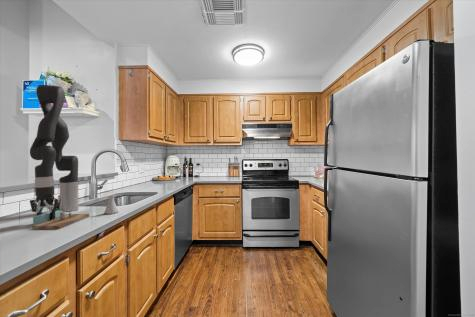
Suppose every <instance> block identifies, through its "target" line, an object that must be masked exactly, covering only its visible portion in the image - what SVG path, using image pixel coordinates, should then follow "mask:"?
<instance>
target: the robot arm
mask: <svg viewBox="0 0 475 317" xmlns="http://www.w3.org/2000/svg"><path fill="white" fill-rule="evenodd" d="M35 93H36V97H37V100H38V104H39V105H40V106H39V107H40V108H41V111H42V114H43V118H42V119H41V120H40V121H39V123H38V126H37V132H36V137H35V139H34V140H33V142H32V144H31V146H30V148H29V154H30V155H29V156H30V157H31V159H33V160H34V161H41V164H38V165H36V166H35V167H34V194H35V197H36V198H35V199H30V200H29V204H30V207H31V212H32V213H36V216H38V215H42V214H44V213H43V210H44V208H45V207H46V209H47V210H48V212H50V220H53V219H55V211H63V212H66V213H67V212H68V213H69V212H74V211H78V210H79V183H78V182H79V158H78V156H77V155H64V154H63V149H64V147H65V146H66V143H67V142H68V140H69V137H70V134H69V133H70V132H69V129H68V128H69V127H68V125H67V123H66V122H65V121H64V120H63V118H61V117H60V115H61V112H62V109H63V106H64V102H65V99H66V92H65V90H64V88H63V87H62V86H59V85H58V86H57V85H51V84H50V85H49V84H39V85H37V87H36V92H35ZM47 144H51V145H47ZM54 165H55V168H56V169H57V170H58V171H59V172H69V173H68V174H67V175H65V176H62V177H60V178H59V181H58V182H59V195H58V196H57V198H56V197H55V196H54V195H55V179H54Z"/></svg>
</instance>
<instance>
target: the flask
mask: <svg viewBox="0 0 475 317" xmlns="http://www.w3.org/2000/svg"><path fill="white" fill-rule="evenodd" d="M107 197H108V200H107V204H106V207H105V210H104V212H103V213H104V214H105V215H113V214H117V213H119V209H118V207H117V204H116V201H115V195H113V194H111V195H108V196H107Z"/></svg>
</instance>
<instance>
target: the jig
mask: <svg viewBox="0 0 475 317" xmlns="http://www.w3.org/2000/svg"><path fill="white" fill-rule="evenodd" d="M89 217H90V213H72V212H68V213H67V212H61V213H60V217H57V218H55V219H53V220H49V221H46V222H43V223H40V224H37V225H32V230H60V229H64V228H65V227H67V226H70V225H72V224H74V223H77V222H80V221H82V220H84V219H87V218H89Z"/></svg>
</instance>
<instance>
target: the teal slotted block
mask: <svg viewBox="0 0 475 317" xmlns="http://www.w3.org/2000/svg"><path fill="white" fill-rule="evenodd" d="M61 212H63V211H58V210H57V211H55V218H57V217H60V213H61ZM49 220H50V211H48V212H45V213H43V214H42V215H38V216H37V215H35V216H33V217H32V221H33V222H32V223H33V224H32V226H34V225H37V224H40V223H43V222H46V221H49Z"/></svg>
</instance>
